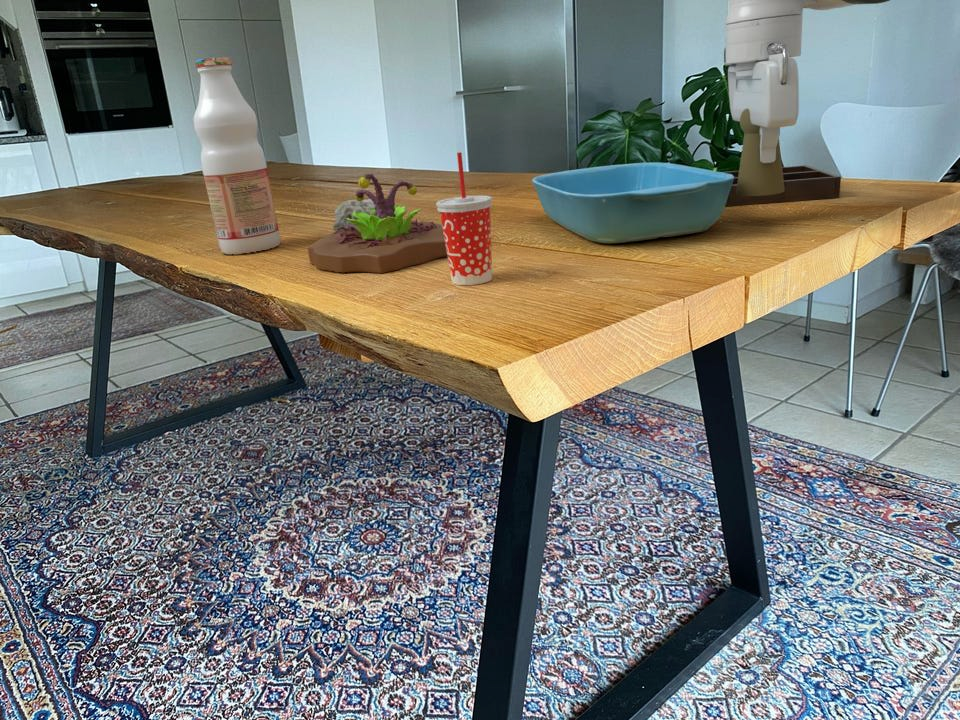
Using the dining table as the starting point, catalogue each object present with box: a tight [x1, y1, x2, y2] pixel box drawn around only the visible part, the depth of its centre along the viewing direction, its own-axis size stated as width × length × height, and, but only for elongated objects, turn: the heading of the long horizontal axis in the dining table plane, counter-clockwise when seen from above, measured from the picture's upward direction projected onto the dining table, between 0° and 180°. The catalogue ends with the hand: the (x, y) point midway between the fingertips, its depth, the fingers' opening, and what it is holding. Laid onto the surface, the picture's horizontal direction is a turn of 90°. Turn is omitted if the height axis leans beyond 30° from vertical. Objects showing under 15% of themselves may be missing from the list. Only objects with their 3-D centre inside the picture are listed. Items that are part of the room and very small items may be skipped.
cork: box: [736, 108, 785, 196], centre depth 96 cm, size 6×6×11 cm
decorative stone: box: [332, 198, 375, 233], centre depth 125 cm, size 12×11×5 cm
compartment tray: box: [721, 164, 842, 207], centre depth 118 cm, size 16×16×3 cm
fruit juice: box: [192, 57, 281, 255], centre depth 112 cm, size 9×9×28 cm
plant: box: [307, 173, 448, 274], centre depth 99 cm, size 20×20×11 cm
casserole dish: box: [531, 161, 734, 244], centre depth 105 cm, size 37×22×7 cm, turn 9°
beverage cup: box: [435, 151, 493, 286], centre depth 81 cm, size 6×6×14 cm
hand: (760, 160), depth 96 cm, fingers closed on cork, 4 cm apart
